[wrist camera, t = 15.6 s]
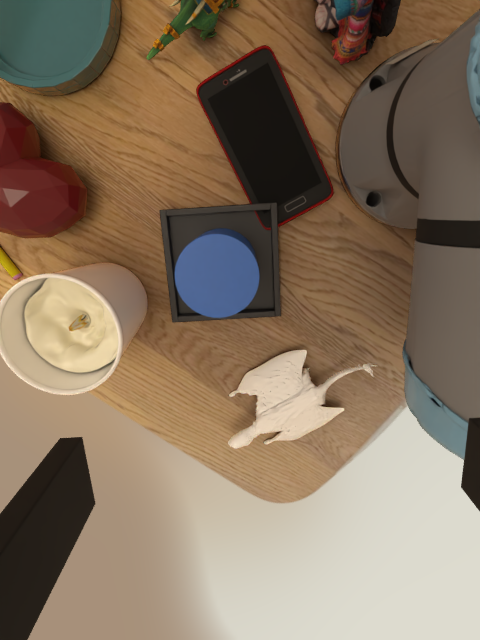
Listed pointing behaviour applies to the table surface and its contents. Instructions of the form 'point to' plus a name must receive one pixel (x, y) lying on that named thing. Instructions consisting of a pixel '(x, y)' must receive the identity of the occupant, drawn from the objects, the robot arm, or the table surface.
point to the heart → (34, 183)
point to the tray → (242, 219)
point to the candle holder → (71, 326)
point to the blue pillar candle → (217, 273)
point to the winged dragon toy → (286, 399)
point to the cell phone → (265, 136)
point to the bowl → (56, 43)
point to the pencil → (9, 265)
